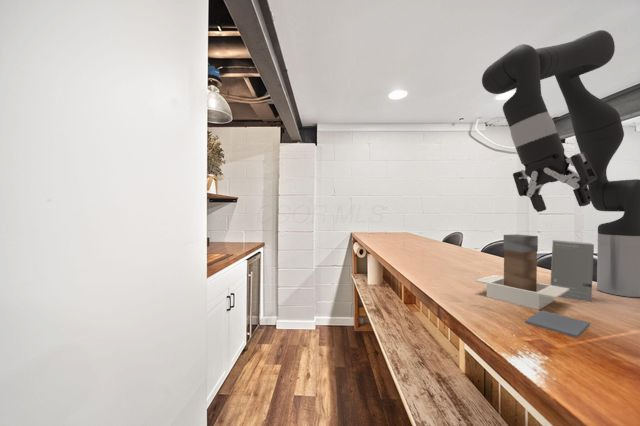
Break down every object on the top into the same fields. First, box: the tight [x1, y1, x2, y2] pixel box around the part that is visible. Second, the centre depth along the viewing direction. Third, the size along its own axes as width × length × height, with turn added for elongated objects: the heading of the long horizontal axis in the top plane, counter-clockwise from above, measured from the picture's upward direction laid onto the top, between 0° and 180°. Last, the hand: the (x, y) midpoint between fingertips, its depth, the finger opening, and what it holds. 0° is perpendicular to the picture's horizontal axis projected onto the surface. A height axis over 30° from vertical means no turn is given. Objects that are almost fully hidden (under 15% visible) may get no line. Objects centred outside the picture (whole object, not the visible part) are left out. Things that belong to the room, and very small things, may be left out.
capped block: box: [503, 233, 539, 292], centre depth 70 cm, size 5×5×17 cm
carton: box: [474, 274, 570, 311], centre depth 70 cm, size 11×17×4 cm, turn 35°
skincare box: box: [549, 239, 595, 303], centre depth 73 cm, size 8×7×16 cm
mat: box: [524, 309, 590, 339], centre depth 55 cm, size 10×8×1 cm
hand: (561, 208), depth 57 cm, fingers open, 8 cm apart
